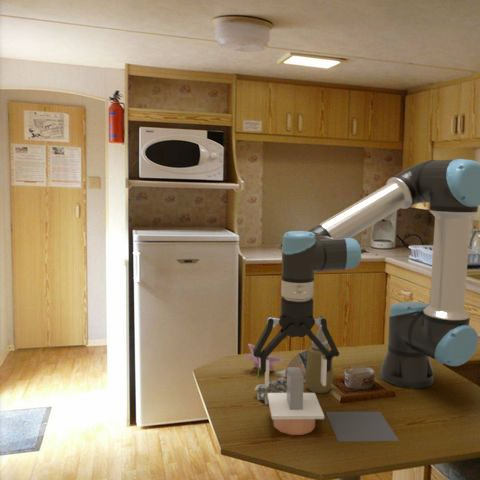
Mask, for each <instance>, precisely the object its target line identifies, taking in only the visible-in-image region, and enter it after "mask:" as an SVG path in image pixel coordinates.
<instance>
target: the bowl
mask: <svg viewBox="0 0 480 480" xmlns="http://www.w3.org/2000/svg"><path fill="white" fill-rule="evenodd" d="M272 424H273V428H274V429H276V430H278V432H280V433H284V434H287V435H291V436H296V435H297V436H303V435H307V434H308V433H312V432H313V430H314V429H315V427H316V419H272Z"/></svg>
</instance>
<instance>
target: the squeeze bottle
mask: <svg viewBox="0 0 480 480" xmlns="http://www.w3.org/2000/svg"><path fill="white" fill-rule="evenodd" d="M315 336H316V337H317V338H318V339H319V340H320V342H321V343H322V344H323V345H324V346H325V347H326V349H327V350H328V351H330V350H331V348H329V344H328V342H327V340H326V338H325V335H324V333H323V331H322V329H321V327H318V328H317V333H316V335H315ZM321 356H325V355H324V354H323V353H322V352H321V351H320V349H319V348H318V347H317V346H316V345H315V343H314V342H313V341H312V340H311V346H310V347H309V348H308V350H307V357H306V364H305V372H304V381H305V384H306V386H307V390H309V391H310V392H311V393H315V394H326V393H328V392H329V391H330V389H331V387H332V384H333V381H334V369H333V359H332V360H331V370H330V371H327V372H326V386H323V385H322V383H321Z"/></svg>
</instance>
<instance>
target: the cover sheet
mask: <svg viewBox="0 0 480 480" xmlns="http://www.w3.org/2000/svg"><path fill="white" fill-rule="evenodd" d="M286 372H287V373H286V381H287V393H269V392H268V393H267V396H268V401H269V405H268V406H269V410H270V417H271V419H272V420H273V419H315V420H324V419H325V413H324V412H323V409H322V407H321V405H320V402H319V399H318V397H317V395H316V393H315V392H304V381H305V376H304V375H303V372H302V370H301V368H300V366H299V367H298V366H297V367H296V366H294V367H293V366H291V367H290V366H287V369H286Z"/></svg>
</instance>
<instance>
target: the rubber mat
mask: <svg viewBox="0 0 480 480" xmlns="http://www.w3.org/2000/svg"><path fill="white" fill-rule="evenodd" d="M325 413H326V416H327V419H328V420H329V424H330V425H331V428H332V430H333V432H334V435H335V437H336V440H337V442H341V443H342V442H343V443H344V442H400V441H399V439H398V437H397V436H396V434H395V432H394V431H393V429H392V428H391V426H390V425H389V423H388V421H387V420H386V419H385V417H384V415H383V413H382V412H381V411H325Z"/></svg>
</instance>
